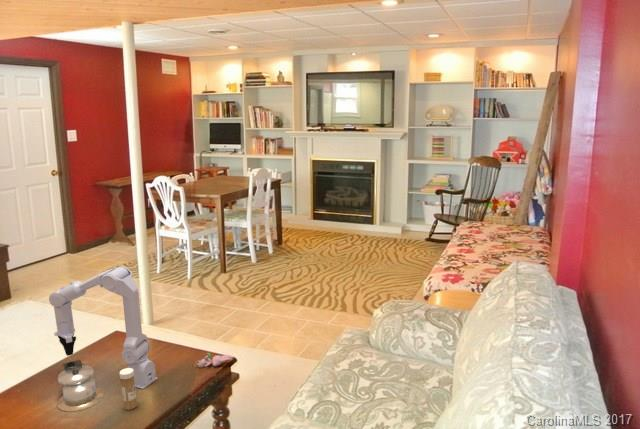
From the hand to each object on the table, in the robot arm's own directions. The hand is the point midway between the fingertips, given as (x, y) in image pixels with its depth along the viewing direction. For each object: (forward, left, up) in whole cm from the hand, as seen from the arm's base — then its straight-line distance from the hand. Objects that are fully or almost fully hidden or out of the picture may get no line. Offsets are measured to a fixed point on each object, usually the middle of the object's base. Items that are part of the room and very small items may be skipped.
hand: (69, 353), depth 192 cm
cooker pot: (-17, +11, -9) cm, 22 cm away
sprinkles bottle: (-37, +8, -10) cm, 39 cm away
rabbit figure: (-47, -26, -10) cm, 55 cm away
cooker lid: (-10, +7, -4) cm, 13 cm away
